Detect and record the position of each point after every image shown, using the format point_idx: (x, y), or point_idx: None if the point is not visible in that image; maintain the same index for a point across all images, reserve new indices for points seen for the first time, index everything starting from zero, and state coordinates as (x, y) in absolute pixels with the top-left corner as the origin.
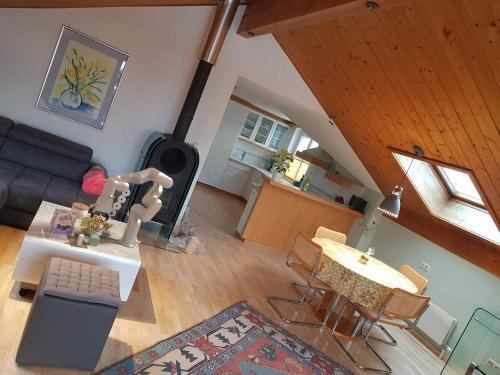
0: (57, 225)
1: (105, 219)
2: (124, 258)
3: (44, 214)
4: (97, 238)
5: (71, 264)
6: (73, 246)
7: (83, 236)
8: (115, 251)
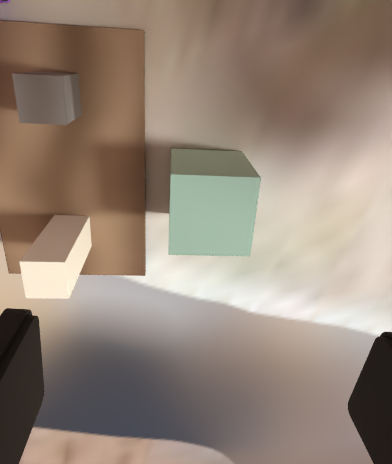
0: None
1: (374, 358)
2: None
3: None
4: (223, 254)
5: None
6: None
7: (60, 297)
8: (375, 245)
